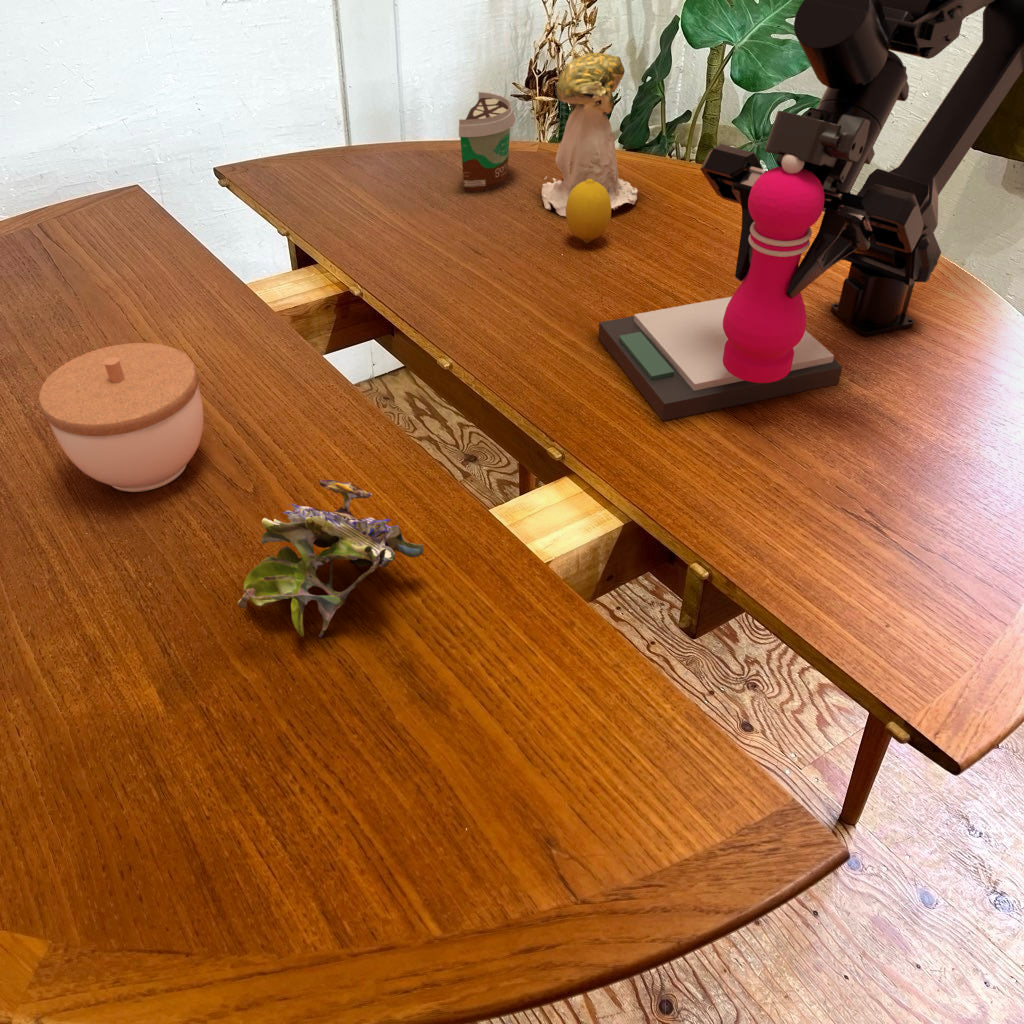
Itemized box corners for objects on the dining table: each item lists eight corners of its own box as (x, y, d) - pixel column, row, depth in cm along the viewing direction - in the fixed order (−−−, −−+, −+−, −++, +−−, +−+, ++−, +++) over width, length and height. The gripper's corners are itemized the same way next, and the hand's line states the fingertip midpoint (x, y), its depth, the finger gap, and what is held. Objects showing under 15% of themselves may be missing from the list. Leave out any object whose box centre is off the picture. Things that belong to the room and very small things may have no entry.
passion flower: (365, 613, 79) (444, 514, 74) (331, 701, 70) (418, 595, 65) (246, 541, 77) (318, 433, 71) (194, 622, 68) (272, 505, 62)
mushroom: (652, 211, 126) (665, 63, 114) (560, 225, 123) (564, 74, 111) (617, 178, 134) (626, 37, 123) (530, 190, 132) (531, 46, 120)
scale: (757, 308, 106) (761, 285, 104) (838, 384, 95) (844, 359, 93) (598, 338, 102) (599, 315, 100) (662, 421, 90) (665, 396, 88)
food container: (505, 199, 130) (504, 123, 123) (461, 196, 131) (458, 120, 124) (523, 165, 139) (523, 93, 132) (481, 162, 140) (479, 90, 133)
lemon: (617, 238, 120) (621, 175, 115) (596, 256, 116) (599, 191, 111) (578, 229, 122) (580, 167, 117) (556, 245, 119) (557, 182, 114)
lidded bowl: (67, 445, 89) (26, 341, 81) (205, 413, 92) (177, 310, 85) (78, 528, 80) (33, 419, 73) (230, 489, 83) (201, 381, 76)
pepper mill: (715, 383, 87) (747, 167, 73) (718, 340, 92) (748, 130, 78) (797, 390, 86) (845, 172, 72) (795, 346, 91) (839, 135, 77)
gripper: (725, 45, 79) (639, 218, 80) (948, 89, 70) (847, 285, 71) (760, 115, 89) (682, 269, 90) (960, 163, 79) (871, 334, 80)
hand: (762, 287), depth 82 cm, fingers closed on pepper mill, 4 cm apart
